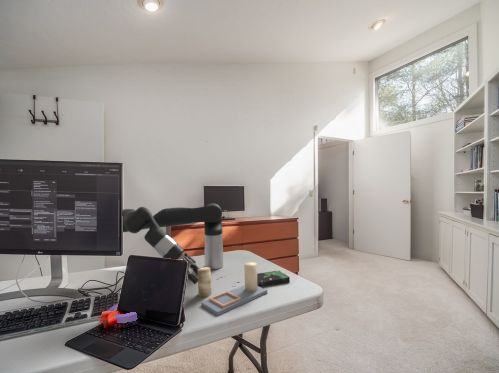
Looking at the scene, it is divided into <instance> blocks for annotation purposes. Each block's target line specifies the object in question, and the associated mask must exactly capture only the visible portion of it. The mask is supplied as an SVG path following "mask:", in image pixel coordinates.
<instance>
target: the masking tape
mask: <svg viewBox="0 0 499 373" xmlns="http://www.w3.org/2000/svg"><path fill="white" fill-rule="evenodd" d="M118 304H119V303H117V304H114V305H113V306H111V307H110V308H109V309H108V310H107V312H108V311H114V310H117V307H118ZM115 318H116V319H117V323H127V322H132V321H136V320H137V319H138V318H137V313H136V312H130V313H126V314H116V316H115Z"/></svg>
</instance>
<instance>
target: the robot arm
mask: <svg viewBox="0 0 499 373" xmlns="http://www.w3.org/2000/svg"><path fill="white" fill-rule="evenodd" d="M122 210H123V211H122V216H123V232H122V233H132V234H137V233H139V232H140V231H142V230H147V229H148V231H147V232H146V233H145V234H144V236H143V238H144V240H145V242H147V243H148V244H149V245H150V247H152V248H153V249H154V250H155V252H156V253H157V254H158V255H159V256H160V257H161V258H162V259H164V258H171V259H183V260H186V261H188V262H189V270H188V277H187V278H186V279H188V280H189V281H190V282H191V283H192V284H194V285H195V284H198V280H199V279H198V269H199V268H200V267H199V266H197V263H196V262H197V261H196V260H195V259H194V258H193V257H192V256H190V255H189V254H188V253H187V252H185V249H184V248H183V247H182V246H181V245H180V244H179V243H178V242H177V241H176V240H175V239H174V238H173V237H171V236H170V235H168V233H166V231H165V230H163V229H162V228H168V227H177V226H182V225H183V226H184V225H188V224H193V223H203V226H204V228H203V229H204V250H203V251H204V266H205V267H209V268H210V269H211V270H218V269H222V268H224V249H223V247H224V246H223V224H222V223H223V222H222V217H223V210H222V208H221V207H220V205H219V204H217V203H213V202H211V203H209V204H207V205H205V206H204V205H203V206H199V207H169V208H168V207H166V208H162V209H161V210H159V211H158V212H157V213H155V214H154V215H153V214H152V212H151V210H150V209H148V208H147V207H146V206H140V207H138V208H137V209H136V210H135V209H133V208H125V209H122ZM184 252H185V253H184ZM183 253H184V254H183ZM192 271H193V272H194V273H193V272H192ZM195 274H196V275H197V276H196V275H195Z"/></svg>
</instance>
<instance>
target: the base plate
mask: <svg viewBox="0 0 499 373" xmlns="http://www.w3.org/2000/svg"><path fill="white" fill-rule="evenodd" d="M243 267H244V284H243V285H242V286H239V287H237V288H233V289H231V290H229V291H224V292H220V293H219V294H217V295H214V296H212V297H209V299H206V300H203V301H201V302H200V306H202V307H203V308H205V309H206V310H208V311H210V313H212V314H214V315H216V316H220V315H222V314H224V313H226V312H229V311H231V310H234V309H236V308H237V307H240V306H242V305H244V304H247V303H248V302H251V301H252V300H255V299H257V298H259V297H261V296H264V295H265V294H268V289H266V288H265V287H259V286H257V274H258V263H257V262H245V263H244V265H243Z"/></svg>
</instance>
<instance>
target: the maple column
mask: <svg viewBox="0 0 499 373" xmlns="http://www.w3.org/2000/svg"><path fill="white" fill-rule="evenodd" d="M198 268H199V269H198V275H197V278H198V279H199V280H198V282H197V286H198V287H197V290H198V292H197V293H198V297H200V298H208V297H210V296H211V295H212V277H211V275H212V274H211V270H212V269H210V268H209V267H206V266H205V267H198Z"/></svg>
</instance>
